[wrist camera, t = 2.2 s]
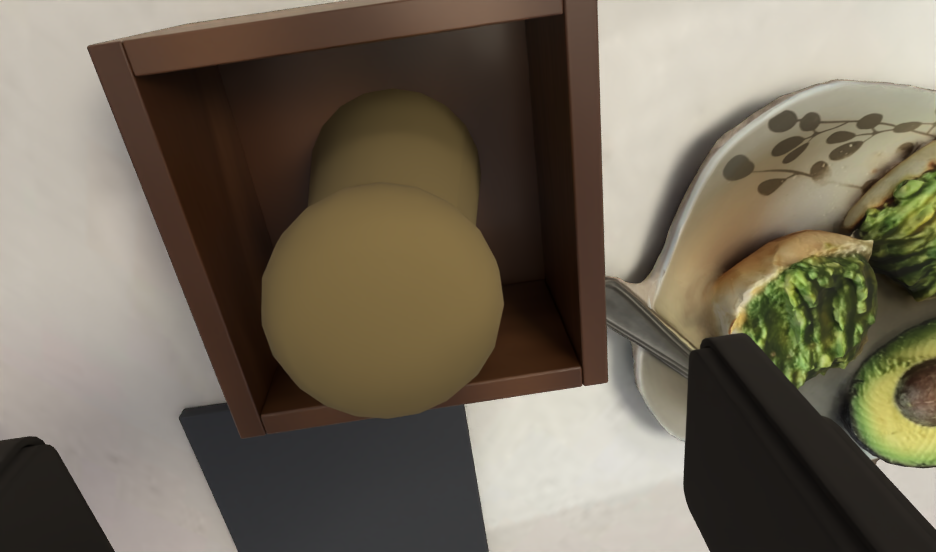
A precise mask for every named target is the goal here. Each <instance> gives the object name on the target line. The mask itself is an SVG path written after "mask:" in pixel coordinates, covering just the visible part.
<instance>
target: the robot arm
mask: <svg viewBox="0 0 936 552" xmlns="http://www.w3.org/2000/svg"><path fill="white" fill-rule="evenodd" d="M683 484H684V494H685V498H686V502H687V505H688V507H689V510H690V512H691V514H692V516H693V518H694V520H695V522H696V524H697V526H698V528H699V530H700V532H701V534H702V536H703V538H704V540H705V542H706V544H707V546H708V548H709V550H710V552H936V530H935V528H934V527H933V526H932V525H931V524H930V523H929V522H928V521H927V520H926V519H925V518H924V517H923V516H922V514H921V513H920V512H919V511H918V510H917V509H916V508H915V507H914V506H913V505H912V504H911V503H910V501H909V500H908V499H907V498H906V497H905V496H904V495H903V494H902V493H901V492H900V491H899V490H898V488H897V487H896V486H895V485H894V484H893V483H892V482H891V481H890V480H889V479H888V478H887V477H886V475H885V474H884V473H883V472H882V471H881V470H880V469H879V468H878V467H877V466H876V465H875V464H874V462H873V461H872V460H871V459H870V458H869V457H868V456H867V455H866V454H865V453H864V452H863V451H862V449H861V448H860V447H859V446H858V445H857V444H856V443H855V442H854V441H853V440H852V439H851V438H850V436H849V435H848V434H847V433H846V432H845V431H844V430H843V429H842V428H841V427H840V426H839V425H838V424H837V423H835V422H834V421H833V420H832V419H830V418H828V417H825V416H821V415H820V414H819V412H818V411H817V410H816V409H815V408H814V407H813V406H812V405H811V404H810V403H809V401H808V400H807V399H806V398H805V397H804V396H803V395H802V394H801V393H800V391H799V390H798V389H797V388H796V387H795V386H794V385H793V384H792V383H791V381H790V380H789V379H788V378H787V377H786V376H785V375H784V374H783V373H782V372H781V370H780V369H779V368H778V367H777V366H776V365H775V364H774V363H773V362H772V360H771V359H770V358H769V357H768V356H767V355H766V354H765V353H764V352H763V350H762V349H761V348H760V347H759V346H758V345H757V344H756V343H755V342H754V341H753V339H752V338H751V337H750V336H748V335H747V334H746V333H737V334H730V335H723V336H716V337H709V338H705V339H703V340H702V342H701V344H700V349H697V350H692V351H691V352H690V355H689V367H688V390H687V413H686V436H685V459H684V482H683ZM0 552H115V551H114V549H113V548H112V546H111V544H110V542H109V541H108V539H107V537H106V535H105V534H104V532H103V530H102V528H101V527H100V525H99V523H98V522H97V520H96V518H95V516H94V515H93V513H92V511H91V509H90V508H89V506H88V504H87V502H86V501H85V499H84V497H83V496H82V494H81V492H80V490H79V489H78V487H77V485H76V483H75V482H74V480H73V478H72V476H71V475H70V473H69V471H68V469H67V468H66V466H65V464H64V463H63V461H62V459H61V457H60V456H59V454H58V452H57V451H56V449H55V448H54V447H52V446H51V445H46V444H45V443H44V442H43V440H41V439H39V438H38V437H32V436H29V437H22V438H15V439H8V440H2V441H0Z"/></svg>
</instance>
